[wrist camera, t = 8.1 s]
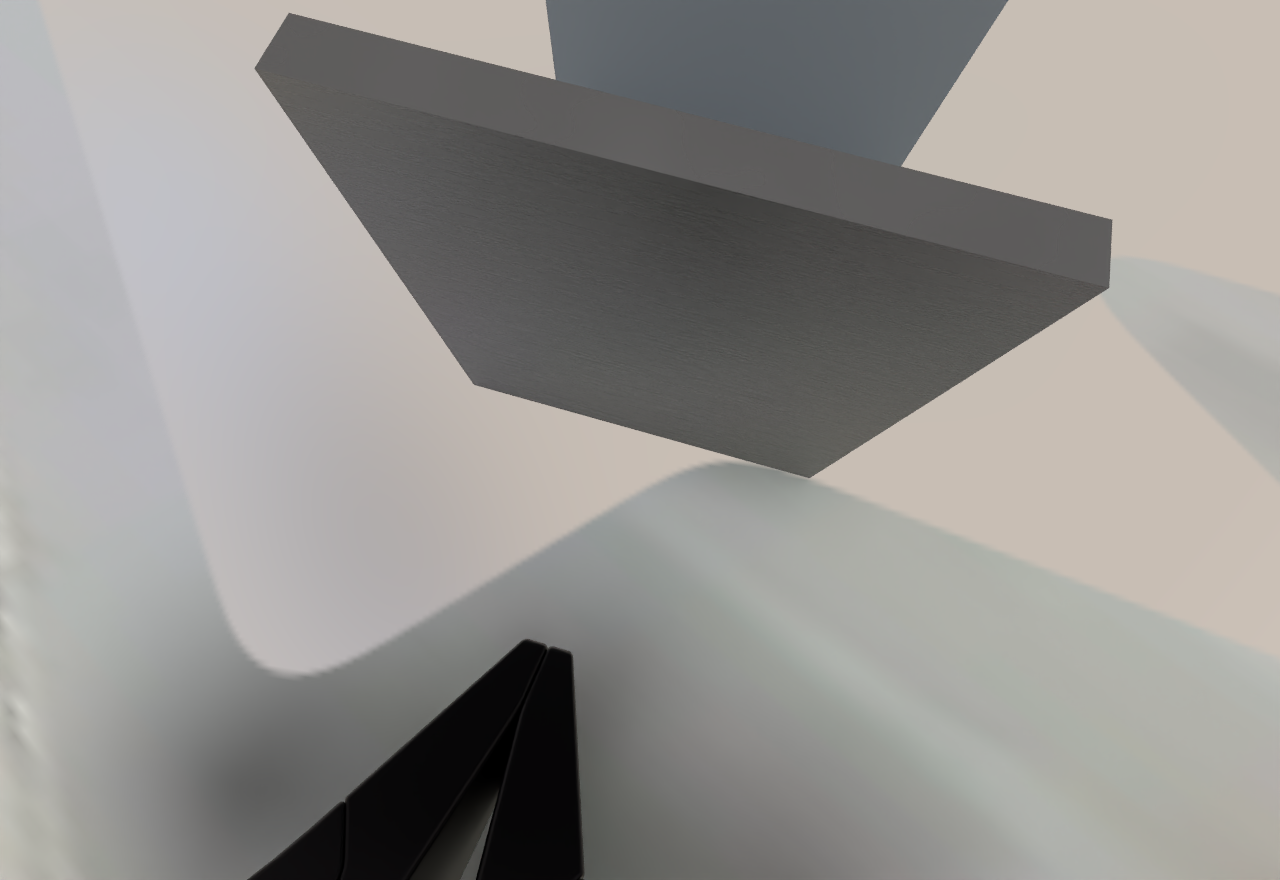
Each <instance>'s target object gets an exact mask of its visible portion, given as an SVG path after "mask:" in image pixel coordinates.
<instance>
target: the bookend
mask: <svg viewBox="0 0 1280 880" xmlns="http://www.w3.org/2000/svg"><path fill="white" fill-rule="evenodd" d="M255 70H256V71H257V73H258V74H259V76H260V77H261V78H262V80H263V81H264V83H265V84H266V86H267V87H268V88H269V90H270V91H271V93H272V94H273V96H274V97H275V98H276V100H277V101H278V103H279V104H280V106H281V107H282V109H283V110H284V112H285V113H286V114H287V116H288V117H289V119H290V120H291V122H292V123H293V125H294V126H295V127H296V129H297V130H298V132H299V133H300V135H301V136H302V138H303V139H304V140H305V142H306V143H307V145H308V146H309V148H310V149H311V151H312V152H313V153H314V155H315V156H316V158H317V159H318V161H319V162H320V163H321V165H322V166H323V168H324V169H325V171H326V172H327V174H328V175H329V176H330V178H331V179H332V181H333V182H334V184H335V185H336V187H337V188H338V189H339V191H340V192H341V194H342V195H343V196H344V198H345V200H346V201H347V202H348V204H349V205H350V207H351V208H352V209H353V211H354V212H355V214H356V215H357V217H358V218H359V219H360V221H361V222H362V224H363V225H364V227H365V228H366V230H367V231H368V232H369V234H370V235H371V237H372V238H373V240H374V241H375V243H376V244H377V245H378V247H379V248H380V250H381V251H382V253H383V254H384V256H385V257H386V258H387V260H388V261H389V263H390V264H391V266H392V267H393V269H394V270H395V272H396V273H397V274H398V276H399V277H400V279H401V280H402V282H403V283H404V284H405V286H406V287H407V289H408V290H409V292H410V293H411V294H412V296H413V298H414V299H415V300H416V302H417V303H418V305H419V306H420V308H421V309H422V310H423V312H424V313H425V315H426V316H427V318H428V319H429V321H430V322H431V323H432V325H433V326H434V328H435V329H436V331H437V332H438V334H439V335H440V336H441V338H442V339H443V341H444V342H445V344H446V345H447V347H448V348H449V349H450V351H451V352H452V354H453V355H454V357H455V358H456V359H457V361H458V362H459V364H460V365H461V367H462V368H463V369H464V371H465V372H466V374H467V375H468V377H469V378H470V379H471V381H472V382H473V384H474V385H477V386H480V387H484V388H487V389H491V390H495V391H498V392H502V393H505V394H509V395H512V396H516V397H520V398H523V399H527V400H530V401H534V402H538V403H541V404H545V405H548V406H552V407H556V408H559V409H563V410H567V411H570V412H573V413H577V414H581V415H585V416H588V417H591V418H595V419H599V420H602V421H606V422H609V423H613V424H617V425H620V426H624V427H627V428H631V429H635V430H638V431H641V432H645V433H649V434H652V435H656V436H660V437H663V438H667V439H671V440H674V441H677V442H681V443H684V444H688V445H692V446H695V447H699V448H702V449H706V450H710V451H713V452H717V453H720V454H724V455H727V456H731V457H735V458H738V459H742V460H745V461H749V462H753V463H756V464H760V465H763V466H767V467H772V468H776V469H779V470H783V471H787V472H790V473H794V474H796V475H799V476H803V477H806V478H810V477H812V476H814V475H815V474H817V473H818V472H820V471H821V470H823V469H825V468H826V467H828V466H829V465H831V464H833V463H834V462H836V461H837V460H839V459H840V458H842V457H844V456H845V455H847V454H848V453H850V452H851V451H853V450H854V449H856V448H858V447H859V446H861V445H862V444H864V443H865V442H867V441H869V440H870V439H872V438H873V437H875V436H877V435H878V434H880V433H881V432H883V431H884V430H886V429H888V428H889V427H891V426H892V425H894V424H896V423H897V422H899V421H900V420H902V419H903V418H905V417H907V416H908V415H910V414H911V413H913V412H914V411H916V410H917V409H919V408H921V407H922V406H924V405H925V404H927V403H929V402H930V401H932V400H933V399H935V398H936V397H938V396H939V395H941V394H943V393H944V392H946V391H947V390H949V389H950V388H952V387H954V386H955V385H957V384H958V383H960V382H962V381H963V380H965V379H966V378H968V377H969V376H971V375H973V374H974V373H976V372H977V371H979V370H980V369H982V368H984V367H985V366H987V365H988V364H990V363H991V362H993V361H995V360H996V359H998V358H999V357H1001V356H1003V355H1004V354H1006V353H1007V352H1009V351H1010V350H1012V349H1013V348H1015V347H1017V346H1018V345H1020V344H1021V343H1023V342H1024V341H1026V340H1028V339H1029V338H1031V337H1032V336H1034V335H1035V334H1037V333H1039V332H1040V331H1042V330H1043V329H1045V328H1047V327H1048V326H1049V325H1051V324H1053V323H1055V322H1056V321H1058V320H1059V319H1061V318H1062V317H1064V316H1066V315H1067V314H1069V313H1070V312H1071V311H1073V310H1075V309H1077V308H1078V307H1080V306H1081V305H1083V304H1084V303H1086V302H1088V301H1089V300H1091V299H1092V298H1094V297H1095V296H1097V295H1099V294H1100V293H1102V292H1103V291H1105V290H1106V289H1108V288H1109V279H1110V258H1111V235H1112V220H1111V219H1107V218H1103V217H1099V216H1095V215H1091V214H1087V213H1083V212H1079V211H1075V210H1071V209H1067V208H1063V207H1059V206H1055V205H1051V204H1047V203H1043V202H1039V201H1035V200H1031V199H1027V198H1023V197H1019V196H1015V195H1011V194H1007V193H1003V192H1000V191H996V190H991V189H988V188H984V187H980V186H976V185H971V184H968V183H964V182H960V181H955V180H952V179H947V178H944V177H940V176H936V175H932V174H928V173H924V172H920V171H915V170H912V169H908V168H904V167H900V166H896V165H892V164H888V163H884V162H880V161H876V160H872V159H868V158H864V157H860V156H856V155H852V154H848V153H844V152H840V151H836V150H832V149H828V148H824V147H820V146H816V145H812V144H808V143H805V142H801V141H797V140H793V139H789V138H785V137H781V136H777V135H773V134H769V133H765V132H761V131H757V130H753V129H749V128H745V127H741V126H737V125H733V124H729V123H725V122H721V121H717V120H713V119H709V118H705V117H701V116H697V115H693V114H689V113H685V112H681V111H677V110H673V109H669V108H665V107H661V106H657V105H653V104H649V103H645V102H641V101H637V100H633V99H629V98H625V97H621V96H617V95H613V94H610V93H606V92H602V91H598V90H594V89H590V88H586V87H582V86H578V85H574V84H570V83H566V82H562V81H558V80H554V79H550V78H546V77H542V76H538V75H534V74H530V73H526V72H522V71H518V70H514V69H510V68H506V67H502V66H498V65H494V64H489V63H486V62H482V61H478V60H474V59H470V58H466V57H462V56H458V55H454V54H450V53H446V52H442V51H438V50H434V49H430V48H426V47H422V46H418V45H414V44H410V43H407V42H403V41H398V40H395V39H391V38H386V37H383V36H379V35H375V34H371V33H367V32H363V31H359V30H355V29H351V28H347V27H343V26H339V25H335V24H331V23H327V22H323V21H319V20H315V19H311V18H307V17H303V16H299V15H295V14H291V13H289V14H288V16H287V17H286V19H285V20H284V22H283V23H282V25H281V27H280V28H279V30H278V31H277V33H276V35H275V36H274V38H273V39H272V41H271V43H270V44H269V46H268V47H267V49H266V51H265V52H264V54H263V55H262V57H261V59H260V60H259V62H258V64H257V65H256V67H255Z"/></svg>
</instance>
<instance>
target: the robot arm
mask: <svg viewBox="0 0 1280 880" xmlns="http://www.w3.org/2000/svg"><path fill="white" fill-rule="evenodd" d="M494 807H495V808H494ZM493 809H494V811H493ZM492 811H493V815H492V819H491V823H490V827H489V831H488V835H487V838H486V842H485V846H484V850H483V854H482V858H481V861H480V865H479V869H478V873H477V877H476V880H584V879H583V877H584V855H583V836H582V817H581V799H580V780H579V761H578V742H577V723H576V705H575V686H574V667H573V655H572V653H571V652H570V651H567V650H564V649H560V648H557V647H553V646H552V647H549V648H548V647H547V645H545V644H544V643H540V642H537V641H534V640H530V639H525V640H523V641H521V642H520V643H519V644H518V645H517V646H515V647H514V648H513V649H512V650H511V651H510V652H509V653H508V654H506V655H505V656H504V657H503V658H502V659H501V660H500V661H499V662H497V663H496V664H495V665H494V666H493V667H492V668H491V669H490V670H488V671H487V672H486V673H485V674H484V675H483V676H482V677H481V678H479V679H478V680H477V681H476V682H475V683H474V684H473V685H472V686H470V687H469V688H468V689H467V690H466V691H465V692H464V693H463V694H461V695H460V696H459V697H458V698H457V699H456V700H455V701H454V702H452V703H451V704H450V705H449V706H448V707H447V708H446V709H445V710H443V711H442V712H441V713H440V714H439V715H438V716H437V717H436V718H434V719H433V720H432V721H431V722H430V723H429V724H428V725H426V726H425V727H424V728H423V729H422V730H421V731H420V732H419V733H417V734H416V735H415V736H414V737H413V738H412V739H411V740H410V741H408V742H407V743H406V744H405V745H404V746H403V747H402V748H401V749H399V750H398V751H397V752H396V753H395V754H394V755H393V756H392V757H390V758H389V759H388V760H387V761H386V762H385V763H384V764H383V765H381V766H380V767H379V768H378V769H377V770H376V771H375V772H374V773H372V774H371V775H370V776H369V777H368V778H367V779H366V780H365V781H363V782H362V783H361V784H360V785H359V786H358V787H357V788H356V789H354V790H353V791H352V792H351V793H350V794H349V795H348V796H347V797H346V799H345V803H344V802H340V803H338V804H337V805H336V806H335V807H334V808H333V809H332V810H330V811H329V812H328V813H327V814H326V815H325V816H324V817H323V818H321V819H320V820H319V821H318V822H317V823H316V824H315V825H314V826H312V827H311V828H310V829H309V830H308V831H306V832H305V833H304V834H303V835H302V836H301V837H299V838H298V839H297V840H296V841H295V842H293V843H292V844H291V845H290V846H289V847H288V848H286V849H285V850H284V851H283V852H282V853H280V854H279V855H278V856H277V857H276V858H275V859H273V860H272V861H271V862H269V863H268V864H267V865H265V866H264V867H263V868H262V869H260V870H259V871H258V872H256V873H255V874H254V875H253V876H251V877H250V878H249V879H247V880H460V879H461V876H462V874H463V872H464V870H465V868H466V866H467V864H468V862H469V860H470V858H471V855H472V853H473V851H474V849H475V847H476V845H477V843H478V841H479V839H480V837H481V834H482V832H483V830H484V828H485V826H486V824H487V822H488V820H489V818H490V816H491V813H492Z"/></svg>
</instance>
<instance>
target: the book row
mask: <svg viewBox="0 0 1280 880" xmlns="http://www.w3.org/2000/svg"><path fill="white" fill-rule="evenodd" d="M1007 1H1008V0H546V6H547V14H548V22H549V29H550V36H551V45H552V52H553V61H554V69H555V76H556V80H558V81H562V82H566V83H570V84H574V85H578V86H582V87H586V88H590V89H594V90H598V91H602V92H606V93H610V94H613V95H617V96H621V97H625V98H629V99H633V100H637V101H641V102H645V103H649V104H653V105H657V106H661V107H665V108H669V109H673V110H677V111H681V112H685V113H689V114H693V115H697V116H701V117H705V118H709V119H713V120H717V121H721V122H725V123H729V124H733V125H737V126H741V127H745V128H749V129H753V130H757V131H761V132H765V133H769V134H773V135H777V136H781V137H785V138H789V139H793V140H797V141H801V142H805V143H808V144H812V145H816V146H820V147H824V148H828V149H832V150H836V151H840V152H844V153H848V154H852V155H856V156H860V157H864V158H868V159H872V160H876V161H880V162H884V163H888V164H892V165H896V166H900V167H901V165H902V164H903V162H904V161H905V159H906V158H907V156H908V154H909V153H910V151H911V150H912V148H913V147H914V145H915V144H916V142H917V140H918V139H919V137H920V136H921V134H922V133H923V131H924V129H925V128H926V126H927V125H928V123H929V122H930V120H931V119H932V117H933V116H934V114H935V112H936V111H937V110H938V108H939V106H940V105H941V103H942V102H943V100H944V99H945V97H946V96H947V94H948V93H949V91H950V89H951V88H952V86H953V85H954V83H955V82H956V80H957V79H958V77H959V75H960V74H961V72H962V71H963V69H964V68H965V66H966V65H967V63H968V62H969V60H970V59H971V57H972V55H973V54H974V52H975V51H976V49H977V48H978V46H979V45H980V43H981V41H982V40H983V38H984V37H985V35H986V33H987V32H988V31H989V29H990V28H991V26H992V24H993V23H994V21H995V20H996V18H997V16H998V15H999V14H1000V12H1001V11H1002V9H1003V7H1004V6H1005V4H1006V3H1007Z"/></svg>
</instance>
